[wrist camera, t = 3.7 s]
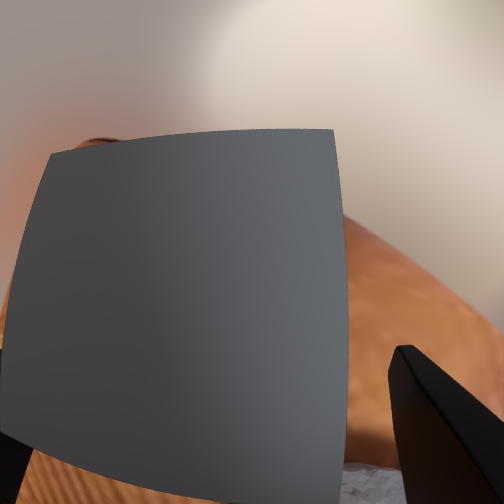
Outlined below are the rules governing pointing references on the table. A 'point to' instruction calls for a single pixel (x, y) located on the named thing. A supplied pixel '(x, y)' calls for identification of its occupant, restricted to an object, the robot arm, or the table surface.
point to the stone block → (371, 485)
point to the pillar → (186, 316)
